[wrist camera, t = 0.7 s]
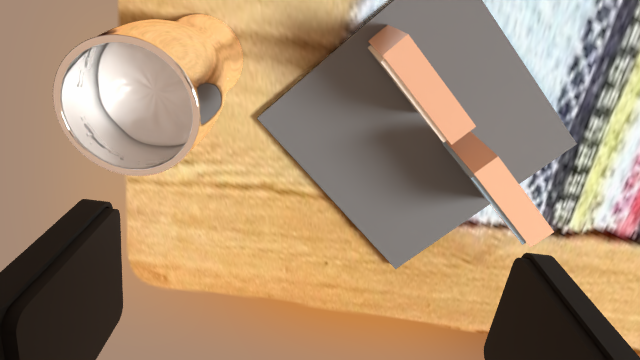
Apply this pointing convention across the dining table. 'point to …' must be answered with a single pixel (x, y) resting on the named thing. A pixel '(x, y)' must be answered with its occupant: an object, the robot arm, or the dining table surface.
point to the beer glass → (146, 91)
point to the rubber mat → (414, 124)
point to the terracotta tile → (420, 83)
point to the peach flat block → (499, 188)
